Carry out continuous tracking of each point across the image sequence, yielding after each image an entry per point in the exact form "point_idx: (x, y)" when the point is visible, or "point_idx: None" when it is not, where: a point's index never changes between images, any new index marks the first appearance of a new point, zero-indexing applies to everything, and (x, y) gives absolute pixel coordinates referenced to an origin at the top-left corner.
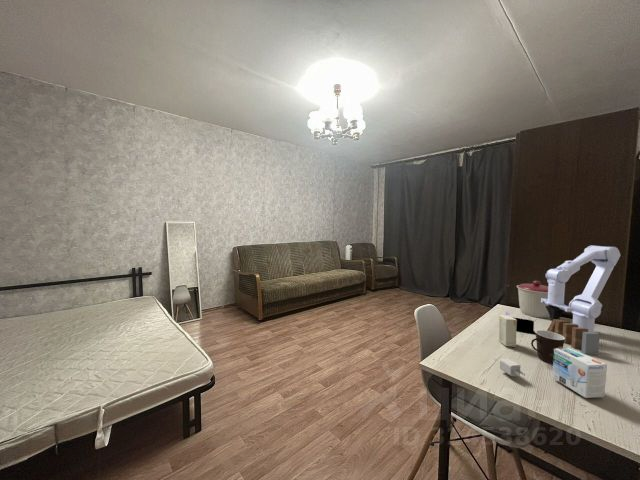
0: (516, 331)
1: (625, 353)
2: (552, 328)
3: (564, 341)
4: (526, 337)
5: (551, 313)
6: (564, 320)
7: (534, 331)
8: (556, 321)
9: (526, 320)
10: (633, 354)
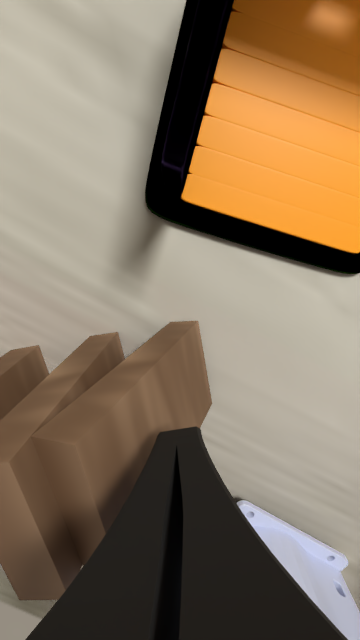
0: (184, 16)
1: (7, 581)
2: (125, 365)
3: (9, 355)
4: (33, 54)
5: (157, 543)
6: (40, 561)
7: (214, 232)
8: (14, 443)
9: (189, 40)
10: (11, 603)
